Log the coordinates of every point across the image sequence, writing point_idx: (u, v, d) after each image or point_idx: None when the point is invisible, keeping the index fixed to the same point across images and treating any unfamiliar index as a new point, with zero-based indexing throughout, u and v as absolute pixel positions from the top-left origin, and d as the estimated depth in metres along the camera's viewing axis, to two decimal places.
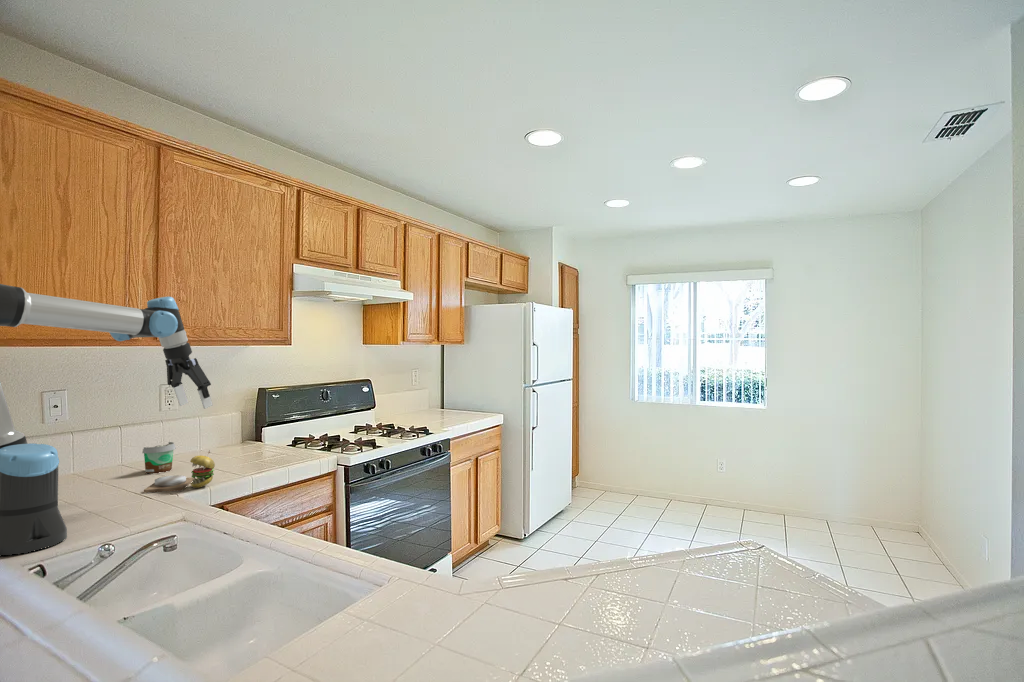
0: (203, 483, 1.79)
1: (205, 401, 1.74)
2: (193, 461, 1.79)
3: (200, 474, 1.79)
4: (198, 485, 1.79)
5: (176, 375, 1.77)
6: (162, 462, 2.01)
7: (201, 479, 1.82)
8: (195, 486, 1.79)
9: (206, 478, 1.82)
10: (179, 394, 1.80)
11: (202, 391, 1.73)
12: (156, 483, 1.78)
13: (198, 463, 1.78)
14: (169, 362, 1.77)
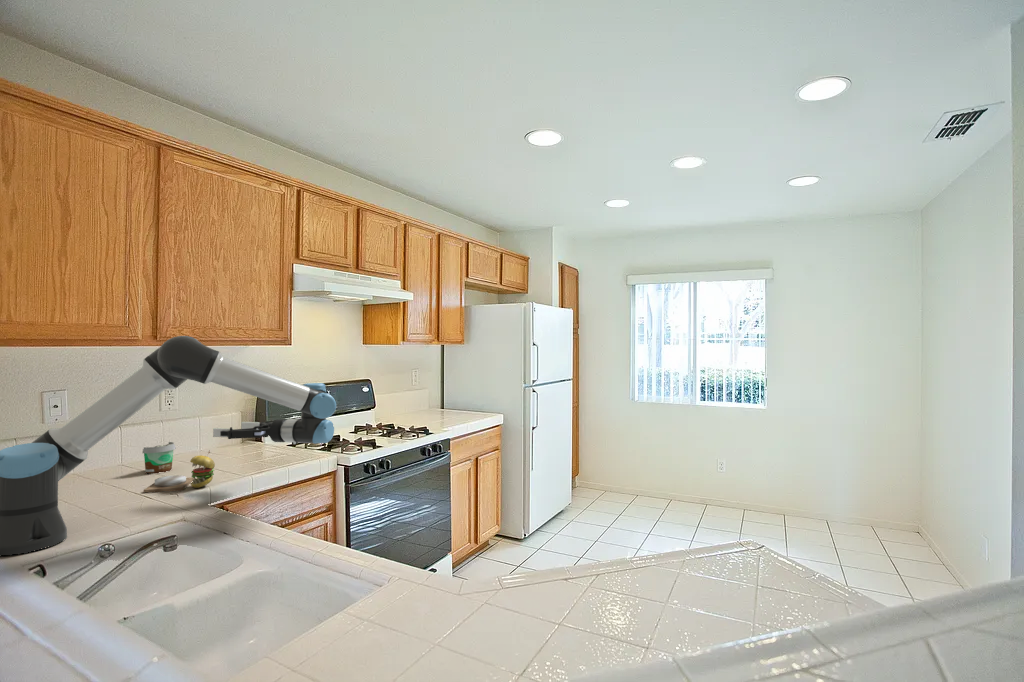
0: (203, 483, 1.79)
1: (219, 430, 1.73)
2: (193, 461, 1.79)
3: (200, 474, 1.79)
4: (198, 485, 1.79)
5: (265, 425, 1.82)
6: (162, 462, 2.01)
7: (201, 479, 1.82)
8: (195, 486, 1.79)
9: (206, 478, 1.82)
10: (251, 424, 1.86)
11: (227, 431, 1.72)
12: (156, 483, 1.78)
13: (198, 463, 1.78)
14: None
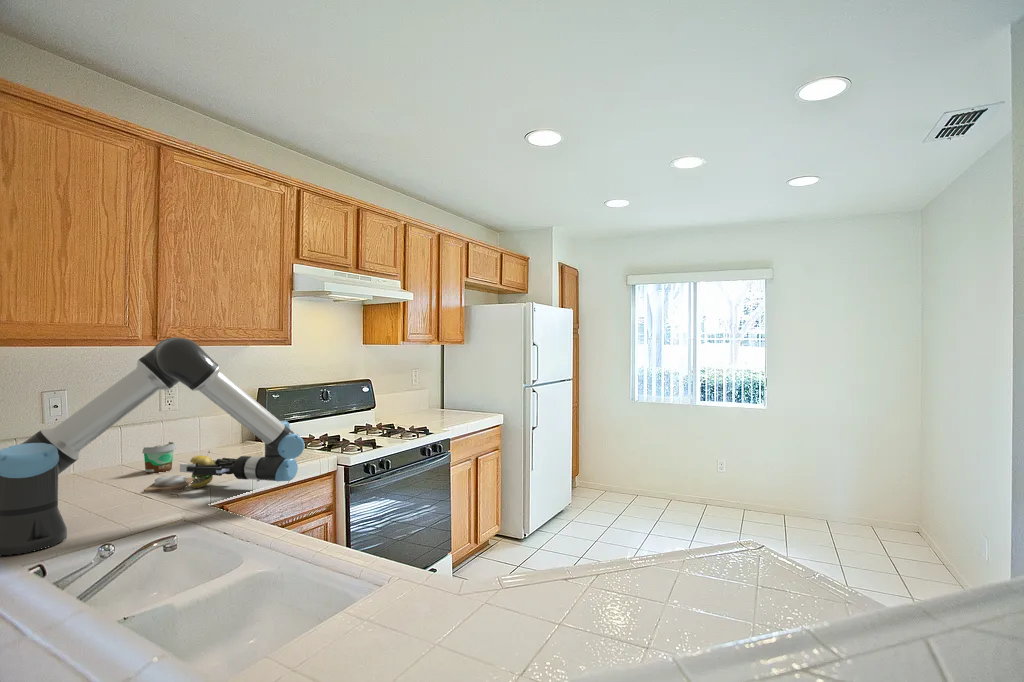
0: (203, 483, 1.79)
1: (185, 466, 1.78)
2: (193, 461, 1.79)
3: None
4: (198, 485, 1.79)
5: (226, 462, 1.83)
6: (162, 462, 2.01)
7: (201, 479, 1.82)
8: (195, 486, 1.79)
9: (206, 478, 1.82)
10: None
11: (193, 467, 1.77)
12: (156, 483, 1.78)
13: (198, 463, 1.78)
14: None
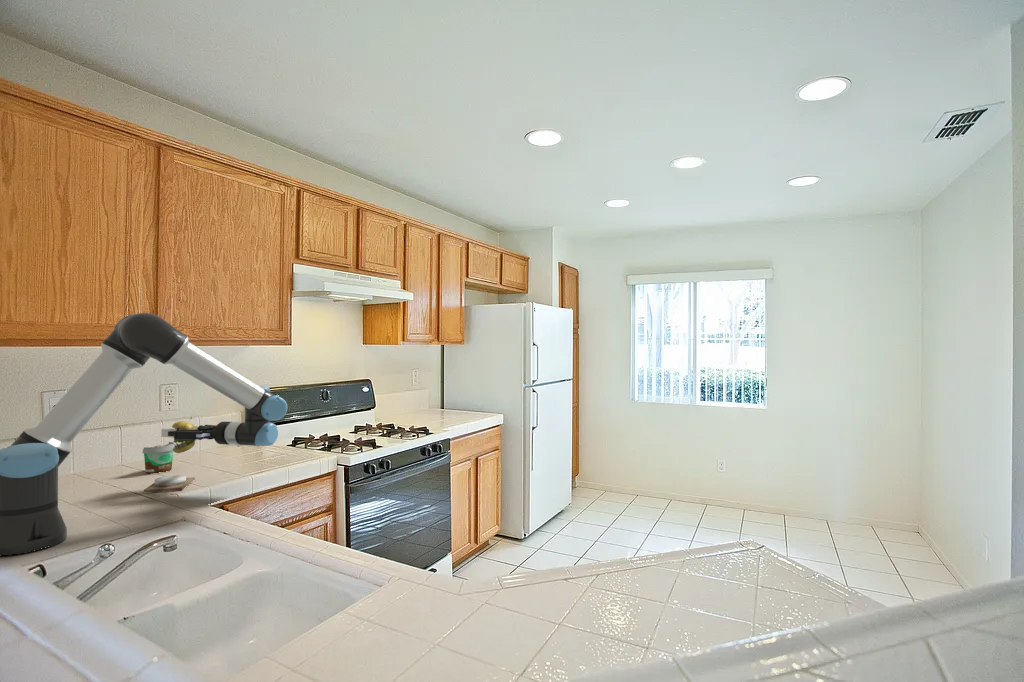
0: (184, 448, 1.80)
1: (167, 431, 1.79)
2: (175, 426, 1.79)
3: (181, 439, 1.80)
4: (179, 450, 1.79)
5: (208, 428, 1.84)
6: (162, 462, 2.01)
7: (183, 444, 1.82)
8: (177, 451, 1.79)
9: (188, 443, 1.82)
10: None
11: None
12: (156, 483, 1.78)
13: None
14: None
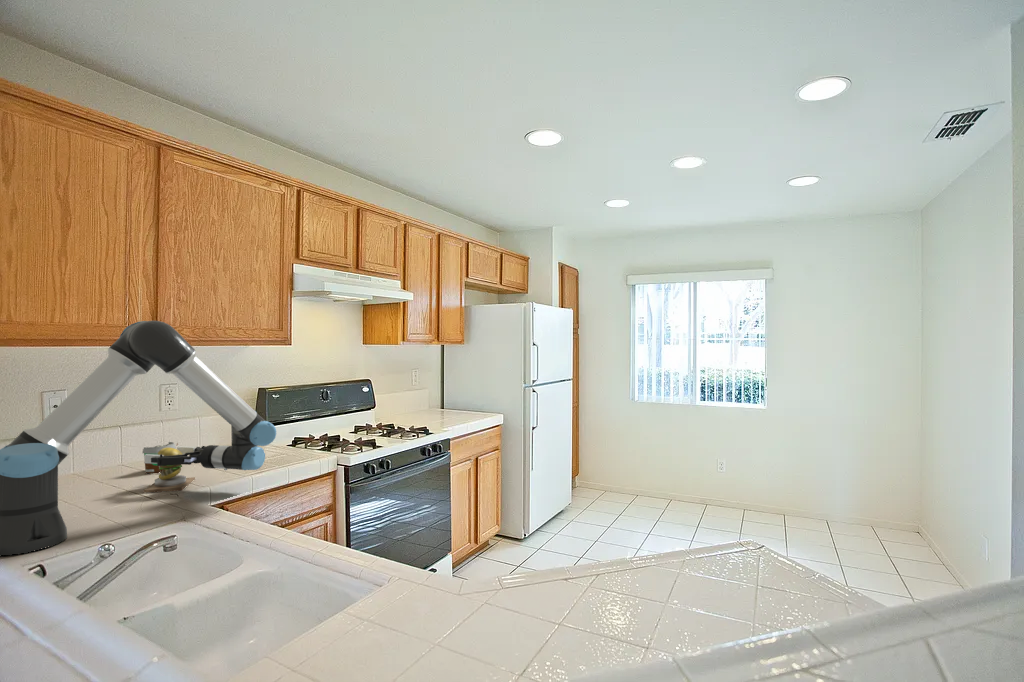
0: (171, 475, 1.79)
1: (150, 457, 1.75)
2: (160, 453, 1.79)
3: (167, 466, 1.79)
4: (165, 477, 1.79)
5: (199, 450, 1.84)
6: None
7: (169, 471, 1.82)
8: (162, 478, 1.79)
9: (174, 470, 1.82)
10: (186, 449, 1.88)
11: (158, 458, 1.74)
12: (156, 483, 1.78)
13: (165, 455, 1.79)
14: None
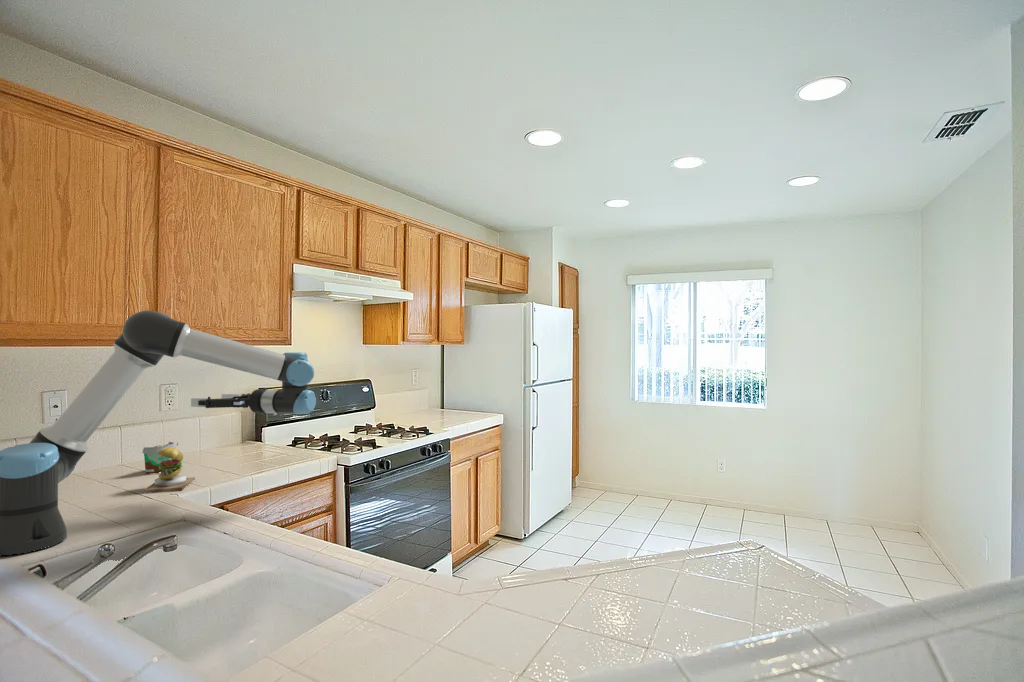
0: (171, 475, 1.79)
1: (197, 400, 1.68)
2: (160, 453, 1.79)
3: (168, 466, 1.79)
4: (165, 477, 1.79)
5: None
6: None
7: (169, 471, 1.82)
8: (162, 478, 1.79)
9: (174, 470, 1.82)
10: (231, 396, 1.81)
11: (205, 400, 1.67)
12: (156, 483, 1.78)
13: (165, 455, 1.79)
14: None
